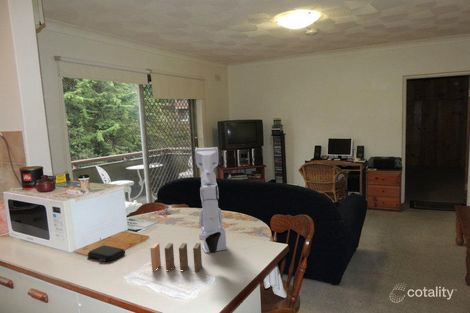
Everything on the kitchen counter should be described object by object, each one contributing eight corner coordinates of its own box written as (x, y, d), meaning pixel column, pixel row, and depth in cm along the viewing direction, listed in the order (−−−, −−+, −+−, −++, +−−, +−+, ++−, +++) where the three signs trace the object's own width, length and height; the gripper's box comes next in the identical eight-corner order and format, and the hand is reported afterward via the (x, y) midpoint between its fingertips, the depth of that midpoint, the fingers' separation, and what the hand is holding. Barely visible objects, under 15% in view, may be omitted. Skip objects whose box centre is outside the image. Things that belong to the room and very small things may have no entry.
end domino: (161, 265, 128) (159, 243, 127) (156, 270, 123) (154, 248, 122) (157, 264, 128) (155, 243, 127) (152, 270, 123) (150, 248, 122)
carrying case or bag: (83, 259, 138) (107, 265, 131) (82, 252, 138) (107, 258, 131) (104, 250, 147) (127, 255, 140) (103, 243, 147) (127, 248, 140)
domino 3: (202, 265, 126) (200, 243, 125) (198, 271, 121) (197, 248, 120) (197, 265, 126) (196, 243, 125) (194, 271, 121) (193, 248, 120)
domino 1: (174, 265, 127) (172, 243, 126) (170, 271, 122) (168, 248, 121) (170, 265, 127) (168, 243, 126) (166, 271, 123) (164, 248, 122)
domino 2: (188, 265, 127) (186, 243, 126) (184, 271, 122) (182, 248, 121) (184, 265, 127) (182, 243, 126) (180, 271, 122) (178, 248, 121)
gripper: (210, 210, 129) (212, 243, 130) (191, 222, 116) (193, 258, 117) (226, 212, 126) (228, 245, 127) (208, 223, 113) (210, 261, 114)
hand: (212, 252), depth 122 cm, fingers closed
